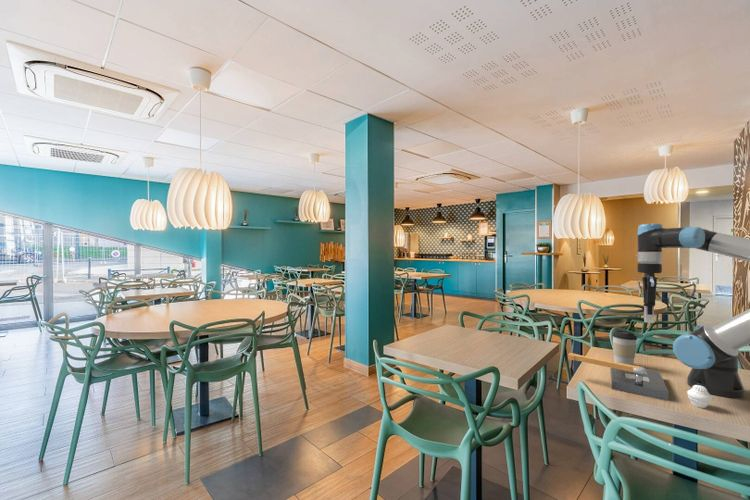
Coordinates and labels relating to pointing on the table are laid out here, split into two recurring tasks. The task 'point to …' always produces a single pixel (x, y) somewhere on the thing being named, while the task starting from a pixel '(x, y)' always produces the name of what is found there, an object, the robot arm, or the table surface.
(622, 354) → the coffee cup
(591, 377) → the table surface
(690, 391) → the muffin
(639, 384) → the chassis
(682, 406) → the table surface
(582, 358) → the swing arm
